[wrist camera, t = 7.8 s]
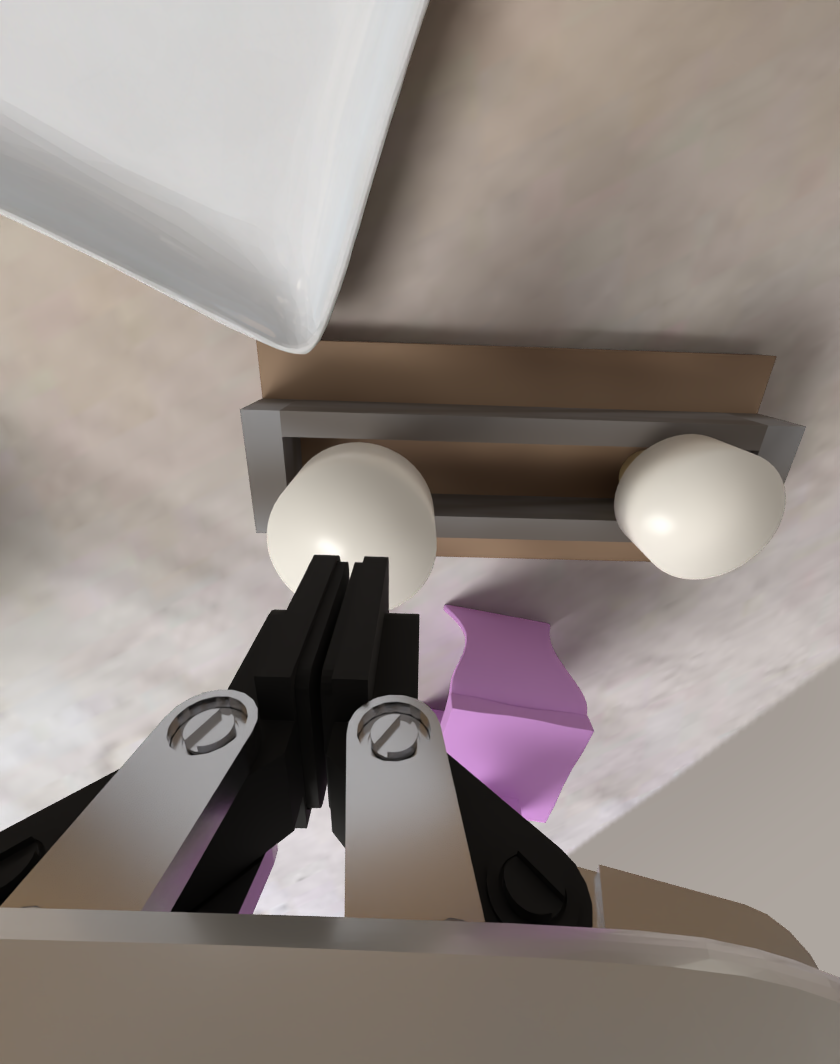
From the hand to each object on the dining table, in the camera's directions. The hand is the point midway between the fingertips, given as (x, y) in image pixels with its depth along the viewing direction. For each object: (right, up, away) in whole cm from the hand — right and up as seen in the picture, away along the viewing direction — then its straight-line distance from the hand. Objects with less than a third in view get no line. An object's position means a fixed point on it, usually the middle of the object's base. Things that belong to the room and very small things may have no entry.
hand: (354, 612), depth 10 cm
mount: (+5, +6, +12) cm, 14 cm away
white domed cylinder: (+12, +5, +10) cm, 16 cm away
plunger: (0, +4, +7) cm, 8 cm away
